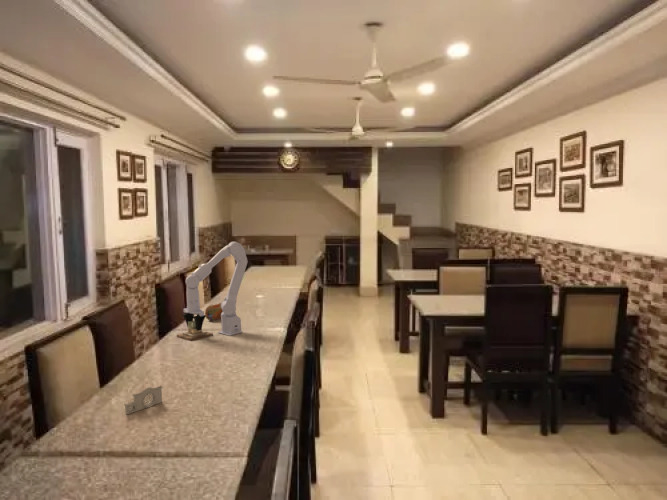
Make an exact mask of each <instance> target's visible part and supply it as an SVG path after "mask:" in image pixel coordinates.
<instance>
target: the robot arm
mask: <svg viewBox="0 0 667 500" xmlns="http://www.w3.org/2000/svg"><path fill="white" fill-rule="evenodd" d="M231 255H232V257H233V259H234V260H235V261H236V265H235V267H234V272H232V273H233V274H232V277H231V280H230V284H229V287H228V289H227V292H226V295H225V297H224V299H223V300H222V302H220V303H221V309H222V310H223V312H222V313H221V319H220V320H221V323H220V324H221V330H220V331H218V334H221V335H226V336H234V335H238V334H241V333H243V332H244V331H242V319H241V317H239V316H238V314H237V312H236V311H237V298H238V295H239V291H240V287H241V284H242V282H243V278H244V276H245V271H246V268H247V265H248V257H247V255H246V250H245V248H244V247H243V245H242V244H241V243H240V242H238V241H230V242H229V243H228V244H227V245H225V246H223V248H221V249H220V250H219V251H218V252H217V253H216V254H215V255H214V256H213V257H212V258H210V260H209V261H208V262H207V263H202V264H199V265H198V268H196V269H195V270H193V272H190V275H188V276H186V278H185V285H186V292H185V293H186V307H185V308H183V313H182V316H183V318H184V321H185V323H186V327H187V328H188V322H189V321H194V320H195V323H196V329H197V331H199V330H201V329H202V330H203V324H204V321H205V318H206V315H205V311H203V310H202V309H201V308H200V307H201V306H200V304H201V302H200V290H199V285H200V282H203V280H206V278H207V277H208V276H209V275H210V274H211V273H212V270H213V268H214V267H215V266H216V265H217V264H218V263H219V262H221V261H222V260H223V259H224V258H228V257H229V258H230V257H231Z"/></svg>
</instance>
